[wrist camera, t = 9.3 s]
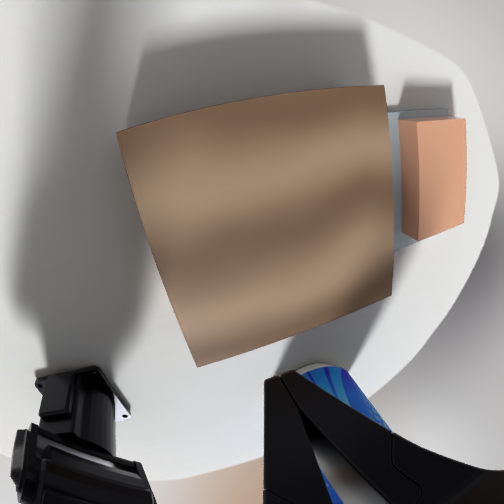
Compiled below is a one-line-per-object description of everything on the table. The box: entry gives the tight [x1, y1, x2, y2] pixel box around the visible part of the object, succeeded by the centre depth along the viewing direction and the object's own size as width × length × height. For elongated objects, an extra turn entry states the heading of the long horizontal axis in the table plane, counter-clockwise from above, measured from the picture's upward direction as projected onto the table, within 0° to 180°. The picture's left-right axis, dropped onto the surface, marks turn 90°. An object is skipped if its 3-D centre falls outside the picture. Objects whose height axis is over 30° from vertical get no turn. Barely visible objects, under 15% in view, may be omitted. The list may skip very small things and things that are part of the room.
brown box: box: [116, 85, 394, 367], centre depth 18 cm, size 14×14×4 cm
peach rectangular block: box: [398, 116, 467, 241], centre depth 21 cm, size 9×6×2 cm, turn 10°
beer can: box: [296, 363, 393, 504], centre depth 22 cm, size 8×8×16 cm
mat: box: [388, 109, 448, 251], centre depth 22 cm, size 11×10×1 cm
